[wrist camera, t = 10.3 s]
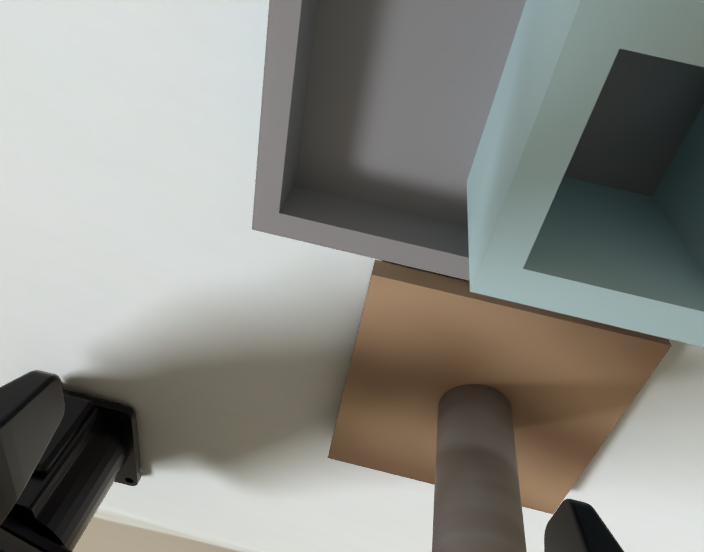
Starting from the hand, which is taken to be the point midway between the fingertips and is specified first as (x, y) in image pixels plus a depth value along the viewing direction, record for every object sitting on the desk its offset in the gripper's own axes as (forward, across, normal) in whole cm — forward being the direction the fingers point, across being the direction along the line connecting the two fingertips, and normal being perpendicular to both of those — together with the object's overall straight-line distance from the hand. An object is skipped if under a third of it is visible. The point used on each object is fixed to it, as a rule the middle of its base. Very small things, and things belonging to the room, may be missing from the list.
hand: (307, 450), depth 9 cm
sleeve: (+10, -6, -5) cm, 13 cm away
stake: (+12, -6, +8) cm, 15 cm away
